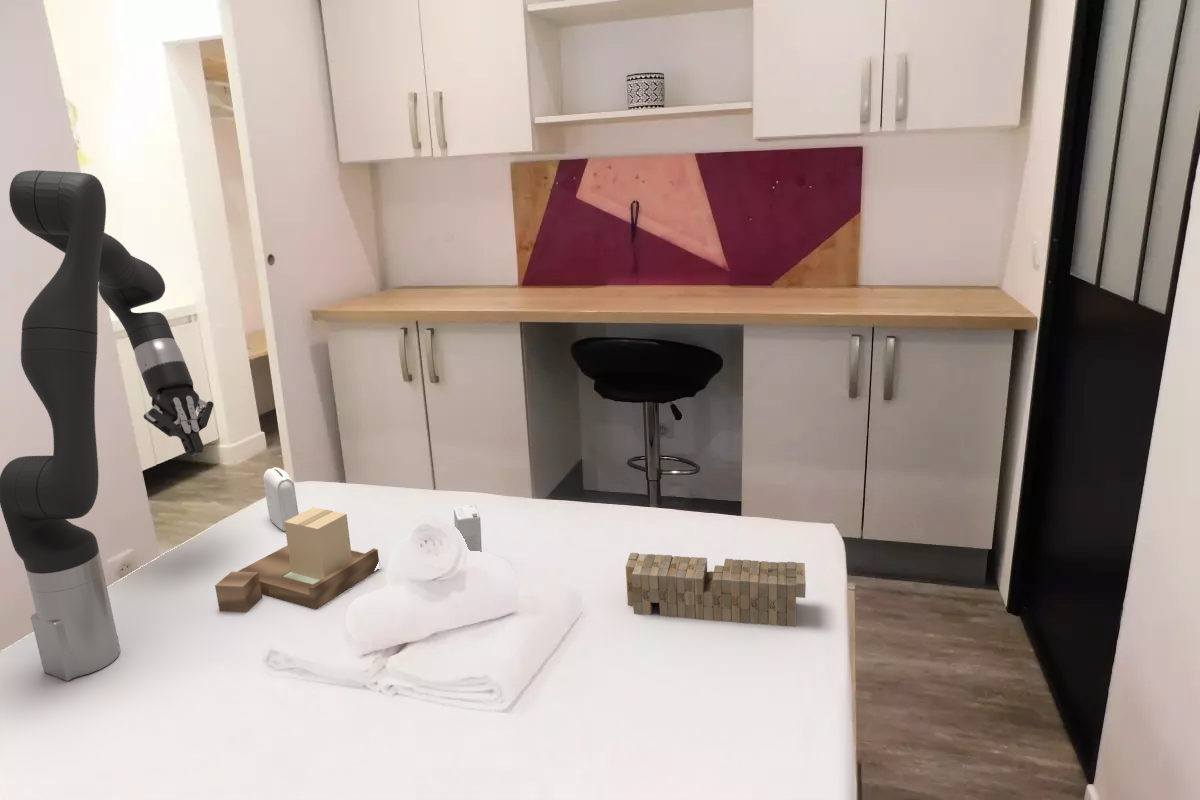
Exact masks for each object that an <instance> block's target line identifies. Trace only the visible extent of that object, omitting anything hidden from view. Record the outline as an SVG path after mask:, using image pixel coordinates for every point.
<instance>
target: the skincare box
mask: <svg viewBox="0 0 1200 800" xmlns="http://www.w3.org/2000/svg"><path fill="white" fill-rule="evenodd" d="M453 518H454V520H453V521H454V528H455V527H456V528H457V529H458V530H459V531H460V533H461V534H462V536H463V538H464V539H465V542H466V544H467V547H468V549H469V550H470V551H480V552H483V551H482V548H483V547H482V528H481V527H482V526H481V516H480V514H479V509H478V508H477V506H476V504H469V505H468V504H466V505H461V506H454V507H453Z"/></svg>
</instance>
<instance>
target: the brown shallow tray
mask: <svg viewBox="0 0 1200 800" xmlns="http://www.w3.org/2000/svg"><path fill="white" fill-rule="evenodd" d="M351 554H352V562H350V563H348V564H347V565H345V566H343V567H342V568H340V569H338V570H337V571H335V572H333V573H332V574H330V575H328V576H326V577H325V578H323V579H321V580H319V579H315V578H311V577H307V576H303V575H299V574H295V573H292V572H291V565H290V558H289V551H288V544H287V545H285V546H284V547H282V548H280V549H277V550H276V551H274V552H272V553H270V554H268V555H266V556H264V557H263V558H260V559H258V560H257V561H255V562H253V563H250V564H249V565H248V566H247V565H246V566H244V567H243V568H241V569H239V570H237V571H236V572H258V573H259V580H260V586H261V592H262V596H263V595H264V596H267V597H270V598H275V599H278V600H281V601H286V602H288V603H293V604H296V605H299V606H303V607H307V608H309V609H313V610H317V609H319V608H320V607H322V606H324V605H325V604H326V603H328V602H330V601H332V600H334V599H335V598H336V597H338V596H339V595H340V594H342V593H344V592H346V591H347V590H348V589H350V588H352V587H353V586H355V585H356V584H358V583H360V582H361V581H363V580H364V579H366V578H367V577H370V576H371V575H372V574H374V573H375V572H374V570H375V568H376V566H377V564H378V562H379V563H380V558H379V550H378V549H377V548H372V549H370V550H369V551H366V552H365V553H364V552H360V551H356V550H352V549H351ZM373 572H374V573H373Z"/></svg>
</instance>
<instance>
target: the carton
mask: <svg viewBox="0 0 1200 800" xmlns="http://www.w3.org/2000/svg"><path fill="white" fill-rule="evenodd" d="M298 514H299V515H297V516H295V517H293V518H291V519H289V520H287V521H285V522H284V524H285V530H286V531H285V536H286V543H287V545H288V551H289V558H290V565H291V572H292V573H295V574H299V575H303V576H307V577H311V578H315V579H319V580H321V579H323V578H325V577H326V576H328V575H330V574H332V573H333V572H335V571H337V570H338V569H340V568H342V567H343V566H345V565H347V564H348V563H350V562H352V554H351V550H352V549H351V541H350V539H351V538H350V532H349V523H348V515H347V513H345V512H338V511H334V510H330V509H324V508H319V507H312V508H309V509H307V510H305V511H303V512H301V513H298Z"/></svg>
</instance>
